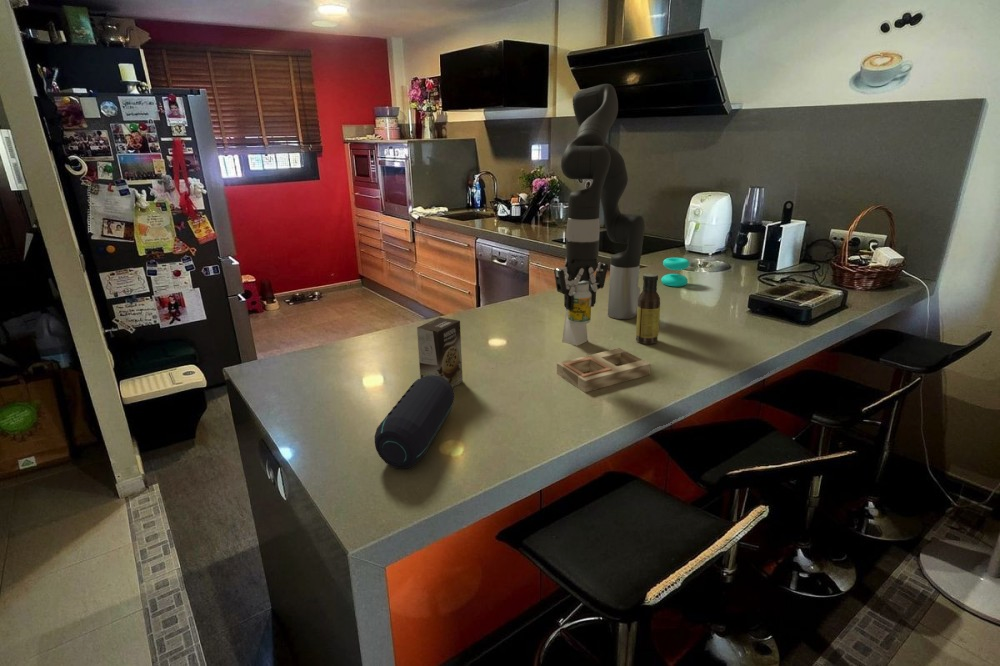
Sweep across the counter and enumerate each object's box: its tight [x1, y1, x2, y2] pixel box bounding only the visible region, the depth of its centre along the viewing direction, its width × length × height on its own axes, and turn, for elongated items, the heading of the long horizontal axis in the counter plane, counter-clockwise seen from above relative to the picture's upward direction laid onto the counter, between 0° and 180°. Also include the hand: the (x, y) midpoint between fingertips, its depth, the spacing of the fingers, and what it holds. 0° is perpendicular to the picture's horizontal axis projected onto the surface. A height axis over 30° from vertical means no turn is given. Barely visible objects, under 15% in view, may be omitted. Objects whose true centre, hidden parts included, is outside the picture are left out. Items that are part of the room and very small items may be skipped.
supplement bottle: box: [568, 281, 592, 325], centre depth 128 cm, size 5×5×10 cm
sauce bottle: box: [635, 272, 661, 345], centre depth 152 cm, size 6×6×20 cm
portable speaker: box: [374, 375, 455, 470], centre depth 106 cm, size 25×10×10 cm, turn 168°
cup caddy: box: [556, 347, 651, 393], centre depth 134 cm, size 20×12×3 cm, turn 117°
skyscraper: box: [561, 258, 589, 347], centre depth 151 cm, size 8×8×28 cm
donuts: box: [660, 257, 691, 288], centre depth 211 cm, size 10×10×10 cm
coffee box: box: [416, 317, 464, 389], centre depth 127 cm, size 9×6×16 cm
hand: (579, 307), depth 128 cm, fingers closed on supplement bottle, 5 cm apart
